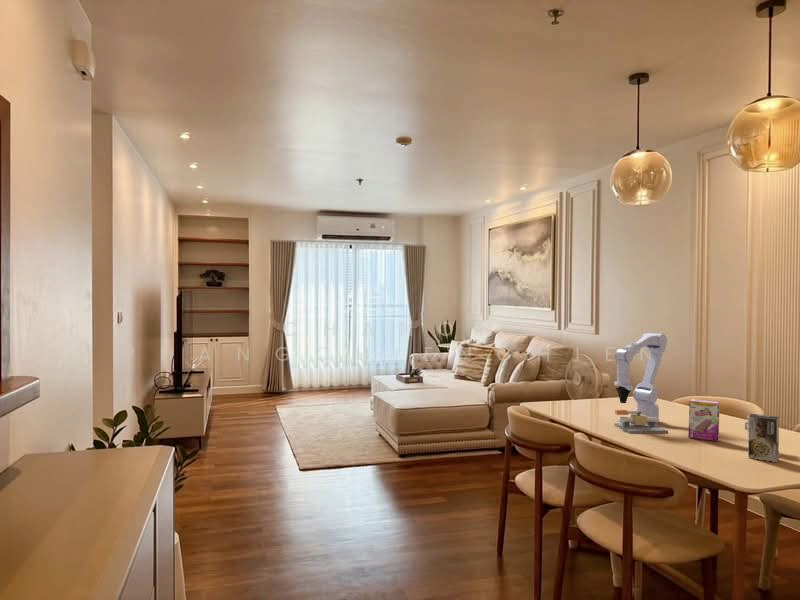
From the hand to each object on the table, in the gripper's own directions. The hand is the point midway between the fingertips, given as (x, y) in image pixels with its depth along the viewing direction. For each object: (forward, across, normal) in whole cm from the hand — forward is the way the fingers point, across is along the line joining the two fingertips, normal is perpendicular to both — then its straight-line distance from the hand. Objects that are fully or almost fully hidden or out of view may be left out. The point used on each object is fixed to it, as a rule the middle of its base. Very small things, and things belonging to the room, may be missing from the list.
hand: (623, 402), depth 251 cm
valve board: (+10, +9, +4) cm, 14 cm away
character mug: (+11, +42, +35) cm, 56 cm away
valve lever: (+4, +7, -1) cm, 8 cm away
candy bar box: (+11, +26, +23) cm, 36 cm away
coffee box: (+11, +54, +28) cm, 62 cm away
